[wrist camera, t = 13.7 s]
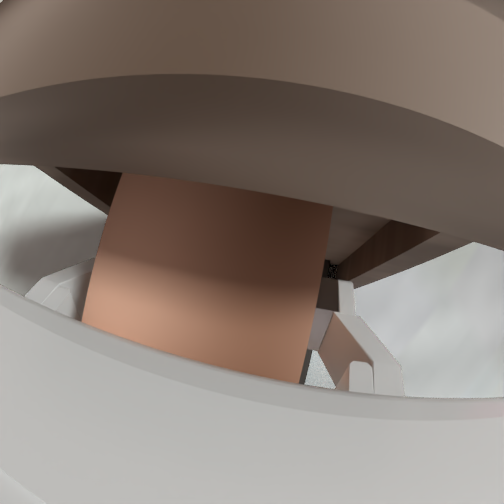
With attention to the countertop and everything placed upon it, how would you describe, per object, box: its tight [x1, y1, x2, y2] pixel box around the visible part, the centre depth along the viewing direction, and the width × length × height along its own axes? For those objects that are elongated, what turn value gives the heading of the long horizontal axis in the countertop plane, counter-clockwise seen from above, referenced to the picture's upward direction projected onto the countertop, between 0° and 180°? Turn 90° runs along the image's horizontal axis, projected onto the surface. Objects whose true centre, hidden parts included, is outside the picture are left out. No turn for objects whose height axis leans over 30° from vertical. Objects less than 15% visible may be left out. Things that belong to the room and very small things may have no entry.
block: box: [82, 173, 333, 384], centre depth 11 cm, size 5×5×10 cm
